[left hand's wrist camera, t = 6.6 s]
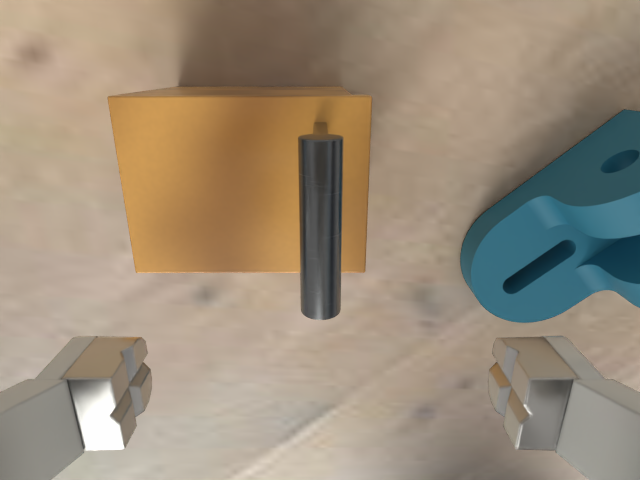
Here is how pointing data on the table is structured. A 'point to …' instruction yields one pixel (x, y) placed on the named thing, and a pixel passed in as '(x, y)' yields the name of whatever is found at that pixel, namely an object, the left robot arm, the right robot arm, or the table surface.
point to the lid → (247, 186)
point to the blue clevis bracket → (563, 231)
